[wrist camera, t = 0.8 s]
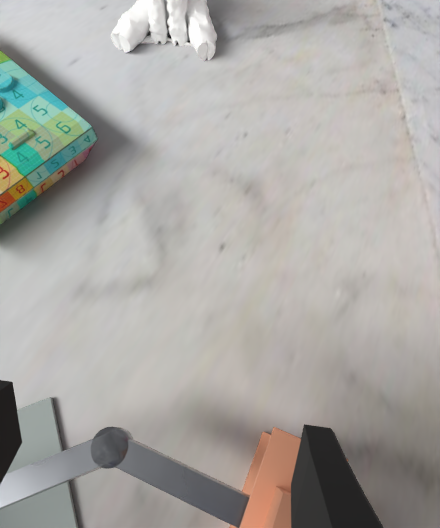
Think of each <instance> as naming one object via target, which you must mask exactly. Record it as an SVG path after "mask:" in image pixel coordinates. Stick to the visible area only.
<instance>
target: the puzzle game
mask: <svg viewBox="0 0 440 528" xmlns="http://www.w3.org/2000/svg"><path fill="white" fill-rule="evenodd" d="M97 140H98V138H97V136H96V133H95V131H94V129H93V127H92V126H91V125H90V124H89V123H87V122H86V121H85V120H84V119H83V118H82V117H81V116H79V115H78V114H77V113H76V112H74V111H73V110H72V109H71V108H70V107H68V106H67V105H66V104H65V103H64V102H62V101H61V100H60V99H59V98H57V97H56V96H55V95H54V94H53V93H51V92H50V91H49V90H48V89H46V88H45V87H44V86H43V85H42V84H40V83H39V82H38V81H37V80H36V79H34V78H33V77H32V76H31V75H29V74H28V73H27V72H26V71H25V70H23V69H22V68H21V67H20V66H19V65H17V64H16V63H15V62H14V61H12V60H11V59H10V58H9V57H8V56H6V55H5V54H4V53H3V52H2V51H0V225H1V224H2V223H3V222H5V221H6V220H7V219H9V218H10V217H11V216H12V215H14V214H15V213H16V212H18V211H19V210H20V209H22V208H23V207H24V206H26V205H27V204H28V203H30V202H31V201H32V200H33V199H35V198H36V197H37V196H39V195H40V194H41V193H43V192H44V191H45V190H47V189H48V188H49V187H51V186H52V185H53V184H54V183H56V182H57V181H58V180H60V179H61V178H62V177H64V176H65V175H66V174H68V173H69V172H70V171H71V170H73V169H74V168H75V167H77V166H78V165H79V164H81V163H82V162H83V161H85V159H86V158H87V156H88V154H89V152H90V150H91V148H92V147H93V145H94V144H95V142H96V141H97Z"/></svg>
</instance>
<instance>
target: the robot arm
mask: <svg viewBox="0 0 440 528" xmlns="http://www.w3.org/2000/svg"><path fill="white" fill-rule="evenodd" d="M21 444H22V438H21V432H20V426H19V419H18V413H17V407H16V401H15V395H14V389H13V383H12V382H9V381H2V380H0V484H1V482H2V480H3V478H4V477H5V475H6V473H7V471H8V469H9V467H10V466H11V464H12V462H13V460H14V458H15V456H16V454H17V452H18V450H19V448H20V446H21ZM291 528H383V526H382V524H381V523H380V521H379V519H378V517H377V515H376V514H375V512H374V510H373V508H372V507H371V505H370V503H369V501H368V500H367V498H366V496H365V494H364V492H363V490H362V488H361V487H360V485H359V483H358V481H357V479H356V477H355V475H354V473H353V471H352V469H351V467H350V465H349V463H348V461H347V459H346V457H345V455H344V453H343V451H342V449H341V447H340V445H339V442H338V440H337V438H336V436H335V434H334V432H333V431H332V430H331V428H325V427H318V426H311V425H304V428H303V433H302V437H301V442H300V446H299V451H298V455H297V459H296V464H295V468H294V473H293V477H292V482H291Z"/></svg>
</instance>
